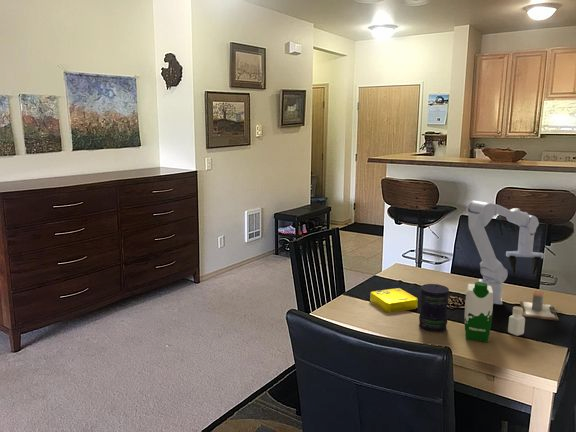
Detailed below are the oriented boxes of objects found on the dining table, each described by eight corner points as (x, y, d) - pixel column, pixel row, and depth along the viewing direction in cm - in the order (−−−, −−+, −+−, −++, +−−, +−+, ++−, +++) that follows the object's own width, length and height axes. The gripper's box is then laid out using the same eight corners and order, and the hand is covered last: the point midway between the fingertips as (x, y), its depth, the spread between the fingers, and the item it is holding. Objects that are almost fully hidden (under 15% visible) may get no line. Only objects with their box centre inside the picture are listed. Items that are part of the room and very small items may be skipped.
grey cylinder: (531, 309, 189) (533, 292, 187) (533, 307, 191) (535, 290, 190) (540, 311, 187) (541, 294, 185) (542, 309, 189) (544, 292, 188)
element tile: (387, 314, 187) (387, 302, 186) (368, 301, 201) (368, 290, 200) (419, 309, 192) (419, 297, 191) (399, 297, 206) (399, 286, 205)
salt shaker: (516, 336, 166) (519, 310, 164) (507, 332, 170) (509, 307, 168) (524, 334, 168) (526, 308, 166) (514, 330, 171) (516, 305, 170)
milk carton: (463, 340, 163) (467, 284, 160) (462, 329, 172) (466, 276, 168) (491, 344, 160) (495, 287, 157) (489, 333, 169) (493, 279, 165)
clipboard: (523, 316, 184) (523, 312, 184) (519, 302, 198) (520, 299, 198) (558, 320, 180) (559, 317, 179) (552, 306, 194) (552, 302, 194)
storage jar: (442, 335, 167) (445, 294, 165) (415, 329, 173) (417, 289, 170) (449, 325, 176) (452, 286, 173) (423, 319, 181) (425, 282, 178)
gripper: (509, 243, 199) (507, 275, 201) (547, 245, 196) (544, 277, 198) (505, 240, 205) (503, 270, 208) (542, 241, 203) (539, 272, 205)
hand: (522, 273), depth 204 cm, fingers open, 7 cm apart
